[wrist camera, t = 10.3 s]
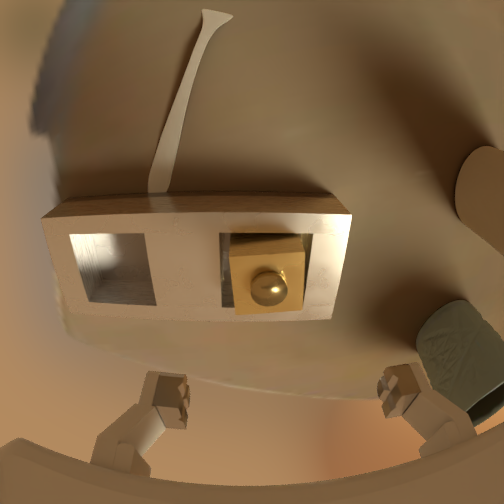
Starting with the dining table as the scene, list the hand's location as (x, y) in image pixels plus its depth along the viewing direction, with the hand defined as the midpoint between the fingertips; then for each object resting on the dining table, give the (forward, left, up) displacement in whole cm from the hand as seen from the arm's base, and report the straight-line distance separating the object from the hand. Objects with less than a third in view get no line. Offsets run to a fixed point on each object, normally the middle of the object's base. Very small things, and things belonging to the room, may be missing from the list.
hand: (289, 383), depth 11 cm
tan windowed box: (+5, 0, -13) cm, 14 cm away
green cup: (-22, +11, -13) cm, 28 cm away
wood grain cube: (0, 0, -12) cm, 12 cm away
